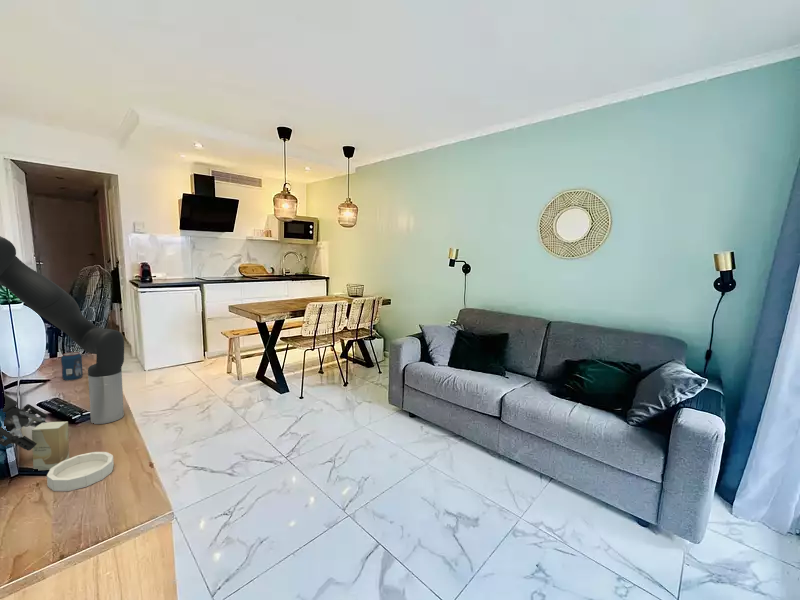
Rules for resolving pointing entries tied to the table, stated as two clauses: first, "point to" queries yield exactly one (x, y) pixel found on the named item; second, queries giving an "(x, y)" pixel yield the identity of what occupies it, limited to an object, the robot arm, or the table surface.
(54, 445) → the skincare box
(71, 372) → the blue carton
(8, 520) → the table surface
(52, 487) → the ceramic dish
